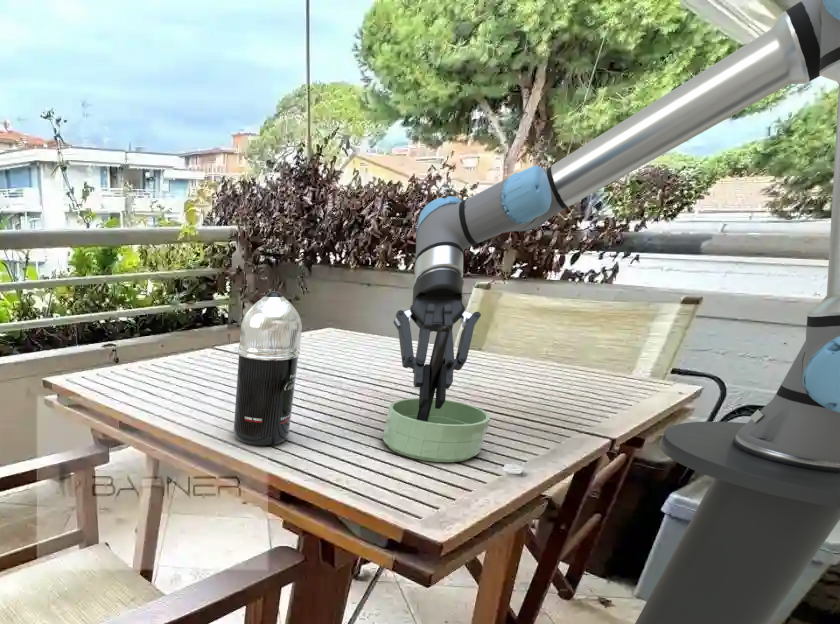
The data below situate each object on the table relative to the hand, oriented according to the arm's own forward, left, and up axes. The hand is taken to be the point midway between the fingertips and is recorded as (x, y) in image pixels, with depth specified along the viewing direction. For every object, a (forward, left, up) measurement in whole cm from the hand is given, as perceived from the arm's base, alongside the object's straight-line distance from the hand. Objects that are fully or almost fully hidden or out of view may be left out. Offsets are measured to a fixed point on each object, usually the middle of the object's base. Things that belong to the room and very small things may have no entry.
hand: (431, 404), depth 89 cm
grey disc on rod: (+2, -3, -8) cm, 9 cm away
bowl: (0, -4, -8) cm, 9 cm away
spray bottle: (+24, +12, -9) cm, 28 cm away
